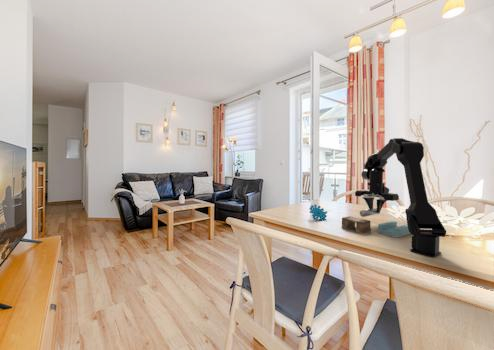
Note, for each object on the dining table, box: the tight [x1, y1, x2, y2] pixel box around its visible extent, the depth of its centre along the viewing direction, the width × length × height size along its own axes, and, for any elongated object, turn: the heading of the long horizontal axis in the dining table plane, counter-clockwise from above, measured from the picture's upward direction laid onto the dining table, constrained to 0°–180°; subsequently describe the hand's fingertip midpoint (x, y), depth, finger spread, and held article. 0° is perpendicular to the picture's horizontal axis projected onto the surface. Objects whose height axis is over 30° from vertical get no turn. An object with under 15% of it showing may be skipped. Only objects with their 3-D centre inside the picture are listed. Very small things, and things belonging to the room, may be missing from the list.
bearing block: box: [341, 215, 371, 234], centre depth 103 cm, size 10×6×5 cm, turn 30°
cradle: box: [377, 220, 411, 238], centre depth 98 cm, size 8×12×4 cm, turn 120°
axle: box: [359, 207, 380, 218], centre depth 108 cm, size 12×3×3 cm, turn 120°
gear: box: [309, 204, 328, 222], centre depth 123 cm, size 11×6×10 cm
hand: (375, 212), depth 111 cm, fingers closed on axle, 3 cm apart
